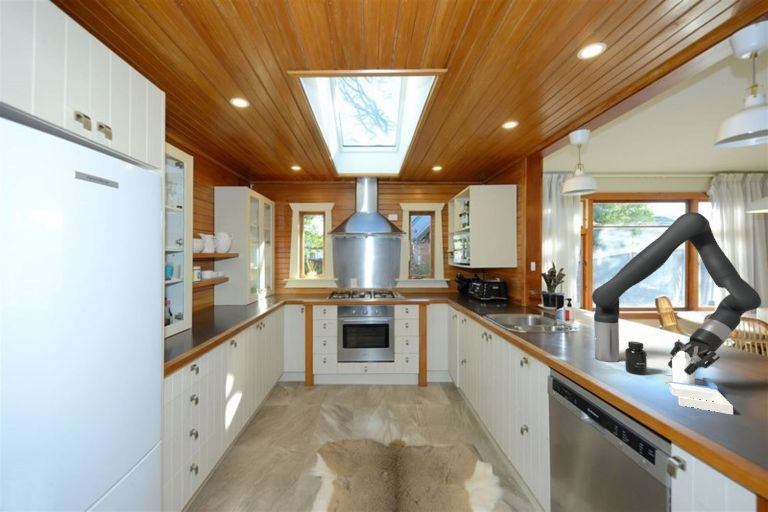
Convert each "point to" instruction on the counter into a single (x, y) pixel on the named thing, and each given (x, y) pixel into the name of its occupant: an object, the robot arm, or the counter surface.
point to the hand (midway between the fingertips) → (678, 369)
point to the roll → (682, 368)
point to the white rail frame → (699, 395)
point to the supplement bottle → (635, 358)
